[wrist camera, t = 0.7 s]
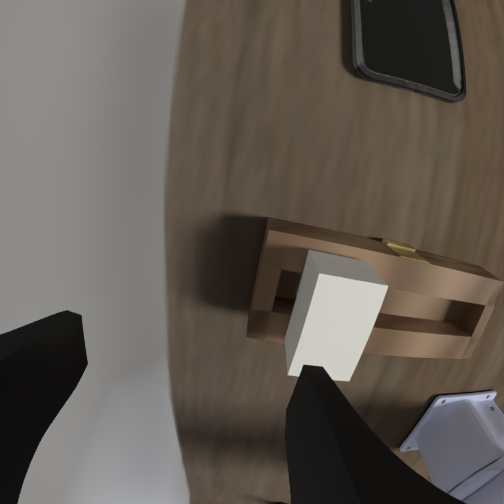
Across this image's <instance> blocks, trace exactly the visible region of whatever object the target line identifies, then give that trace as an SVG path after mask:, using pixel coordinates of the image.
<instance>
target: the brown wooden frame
mask: <svg viewBox="0 0 504 504" xmlns="http://www.w3.org/2000/svg"><path fill="white" fill-rule="evenodd" d="M309 250H312V251H317V252H323V253H328V254H333V255H337V256H342V257H347V258H352V259H357V260H362V261H367V262H368V263H369V265H370V266H371V267H372V268H373V269H374V270H375V271H376V272H377V273H378V275H379V276H380V277H381V278H382V279H383V280H384V281H385V282H386V284H387V285H388V289H387V292H386V294H385V297H384V300H383V303H382V305H381V308H380V311H379V313H378V316H377V318H376V321H375V324H374V326H373V328H372V331H371V333H370V336H369V338H368V341H367V343H366V345H365V348H364V350H363V352H362V353H366V354H378V355H390V356H405V357H423V358H451V359H469V358H470V356H471V354H472V352H473V350H474V348H475V346H476V345H477V343H478V341H479V339H480V337H481V335H482V333H483V330H484V328H485V326H486V324H487V322H488V320H489V318H490V315H491V313H492V311H493V308H494V306H495V304H496V301H497V299H498V296H499V294H500V291H501V289H502V286H503V283H504V282H503V281H502V280H500V279H499V278H497V277H496V276H494V275H493V274H491V273H490V272H488V271H486V270H485V269H483V268H482V267H480V266H476V265H473V264H469V263H465V262H461V261H457V260H454V259H450V258H446V257H442V256H438V255H434V254H430V253H426V252H422V251H418V250H416V249H414V248H413V247H411V246H410V245H406V244H402V243H398V242H394V241H390V240H386V239H382V242H381V241H376V240H372V239H368V238H363V237H359V236H354V235H350V234H345V233H341V232H336V231H332V230H327V229H322V228H318V227H313V226H308V225H303V224H298V223H294V222H289V221H284V220H279V219H274V218H269V217H268V221H267V226H266V231H265V236H264V241H263V246H262V251H261V255H260V260H259V265H258V270H257V275H256V280H255V285H254V289H253V294H252V299H251V304H250V309H249V315H248V324H247V333H246V337H249V338H254V339H260V340H266V341H272V342H279V343H285V336H286V333H287V329H288V326H289V322H290V319H291V315H292V311H293V308H294V304H295V300H296V296H295V293H296V289H297V286H298V282H299V278H300V274H301V273H303V270H304V266H305V263H306V259H307V255H308V251H309Z"/></svg>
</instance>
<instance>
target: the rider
mask: <svg viewBox="0 0 504 504" xmlns="http://www.w3.org/2000/svg"><path fill="white" fill-rule="evenodd" d="M387 289H388V285H387V284H386V282H385V281H384V280H383V279H382V278H381V277H380V276H379V275H378V273H377V272H376V271H375V270H374V269H373V268H372V267H371V266H370V265H369V263H368V262H367V261H362V260H357V259H352V258H347V257H342V256H337V255H333V254H328V253H323V252H317V251H312V250H309V251H308V255H307V259H306V263H305V266H304V270H303V273H301V274H300V278H299V282H298V286H297V289H296V293H295V296H296V300H295V304H294V308H293V311H292V315H291V319H290V322H289V326H288V329H287V333H286V336H285V348H286V359H287V371H288V375H292V376H299V375H300V372H301V370H302V367H303V364H305V365H313V366H322V367H324V369H325V370H326V371H327V373H328V374H329V376H330V377H331V378H332V380H341V381H349V380H350V378H351V376H352V374H353V372H354V370H355V368H356V366H357V363H358V361H359V359H360V357H361V354H362V352H363V350H364V348H365V345H366V343H367V341H368V338H369V336H370V333H371V331H372V328H373V326H374V324H375V321H376V318H377V316H378V313H379V311H380V308H381V305H382V303H383V300H384V297H385V294H386V292H387Z"/></svg>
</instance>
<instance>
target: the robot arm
mask: <svg viewBox="0 0 504 504" xmlns="http://www.w3.org/2000/svg"><path fill="white" fill-rule="evenodd" d="M87 365H88V362H87V355H86V348H85V341H84V333H83V325H82V316H81V315H80V314H76V313H73V312H70V311H68V310H66V311H63V312H59V313H56V314H54V315H51V316H48V317H46V318H43V319H40V320H38V321H35V322H33V323H30V324H28V325H25V326H23V327H20V328H17V329H15V330H12V331H10V332H7V333H4V334H1V335H0V504H17V503H18V499H19V495H20V492H21V488H22V485H23V482H24V479H25V476H26V473H27V471H28V468H29V465H30V463H31V460H32V458H33V456H34V453H35V451H36V449H37V447H38V445H39V443H40V441H41V439H42V437H43V436H44V434H45V432H46V430H47V429H48V427H49V426H50V424H51V423H52V422H53V420H54V419H55V417H56V416H57V414H58V413H59V411H60V410H61V408H62V407H63V406H64V404H65V403H66V401H67V400H68V398H69V397H70V395H71V394H72V392H73V391H74V390H75V388H76V386H77V385H78V383H79V381H80V379H81V377H82V375H83V373H84V371H85V369H86V367H87ZM495 396H496V391H487V392H478V393H468V394H457V395H442V396H438V397H436V398H435V399H434V401H433V402H432V404H431V405H430V407H429V408H428V410H427V411H426V413H425V414H424V416H423V417H422V418H421V420H420V421H419V423H418V424H417V425H416V427H415V428H414V429H413V431H412V432H411V433H410V435H409V436H408V437H407V439H406V440H405V441H404V442H403V444H402V445H401V446H400V451H409V450H417V449H419V450H420V453H421V455H422V457H423V460H424V462H425V465H426V467H427V470H428V473H429V475H430V478H431V480H432V483H433V484H432V483H430V482H429V481H427V480H426V479H425V478H423V477H422V476H421V475H419V474H418V473H416V472H415V471H414V470H413V469H411V468H410V467H409V466H408V465H406V464H405V463H404V462H403V461H402V460H401V459H400V458H399V457H398V456H396V455H395V454H394V453H393V452H392V451H391V450H390V449H389V448H388V447H387V446H386V445H385V444H384V443H383V442H382V441H381V440H380V439H379V438H378V437H377V436H376V434H375V433H374V432H373V431H372V430H371V429H370V428H369V427H368V426H367V424H366V423H365V422H364V421H363V420H362V418H361V417H360V416H359V415H358V413H357V412H356V411H355V410H354V408H353V407H352V406H351V404H350V403H349V402H348V400H347V399H346V398H345V396H344V395H343V394H342V392H341V391H340V390H339V388H338V387H337V385H336V384H335V383H334V381H333V380H332V378H331V377H330V376H329V374H328V373H327V371H326V370H325V369H324V367H322V366H313V365H305V364H303V367H302V370H301V372H300V375H299V378H298V381H297V383H296V386H295V389H294V391H293V394H292V396H291V399H290V402H289V404H288V407H287V409H286V430H285V440H286V451H287V461H288V472H289V482H290V493H291V504H504V415H503V414H502V412H501V411H500V409H499V408H498V406H497V405H496V404H495V402H494V401H493V399H494V397H495Z"/></svg>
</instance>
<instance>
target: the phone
mask: <svg viewBox="0 0 504 504" xmlns="http://www.w3.org/2000/svg"><path fill="white" fill-rule="evenodd" d="M350 1H351V19H352V60H353V66H354V68H355V70H356V72H357V73H358V74H359V76H360V77H362V78H363V79H365V80H367V81H370V82H373V83H378V84H382V85H387V86H391V87H395V88H399V89H403V90H407V91H410V92H414V93H418V94H421V95H424V96H428V97H431V98H434V99H437V100H440V101H444V102H447V103H455V102H459V101H462V100H463V99H464V97H465V95H466V78H465V66H464V56H463V48H462V40H461V34H460V28H459V22H458V17H457V12H456V7H455V2H454V0H350Z"/></svg>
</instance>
